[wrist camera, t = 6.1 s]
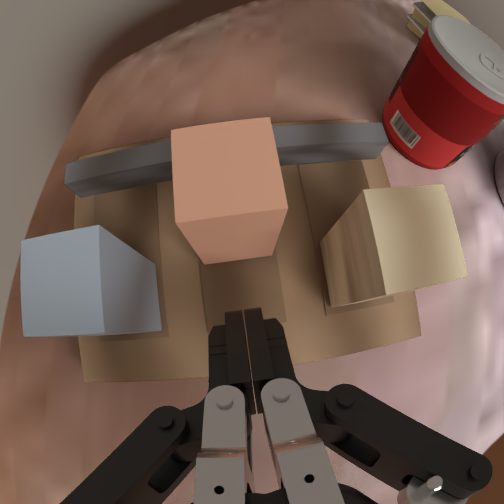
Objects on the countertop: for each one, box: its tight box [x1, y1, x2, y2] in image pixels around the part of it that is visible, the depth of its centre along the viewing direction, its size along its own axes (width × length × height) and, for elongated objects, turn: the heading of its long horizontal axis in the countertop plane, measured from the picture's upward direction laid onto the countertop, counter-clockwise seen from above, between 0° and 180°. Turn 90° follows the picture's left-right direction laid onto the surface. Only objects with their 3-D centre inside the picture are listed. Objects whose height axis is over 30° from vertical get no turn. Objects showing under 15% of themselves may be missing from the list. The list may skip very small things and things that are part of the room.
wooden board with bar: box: [64, 119, 421, 382], centre depth 19 cm, size 22×16×4 cm
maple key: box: [320, 184, 467, 308], centre depth 15 cm, size 4×4×8 cm
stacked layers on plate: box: [406, 0, 470, 39], centre depth 25 cm, size 10×9×6 cm
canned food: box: [383, 15, 504, 169], centre depth 19 cm, size 8×8×11 cm
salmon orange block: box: [171, 117, 288, 265], centre depth 16 cm, size 4×4×8 cm
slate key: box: [21, 225, 162, 337], centre depth 15 cm, size 4×4×8 cm
